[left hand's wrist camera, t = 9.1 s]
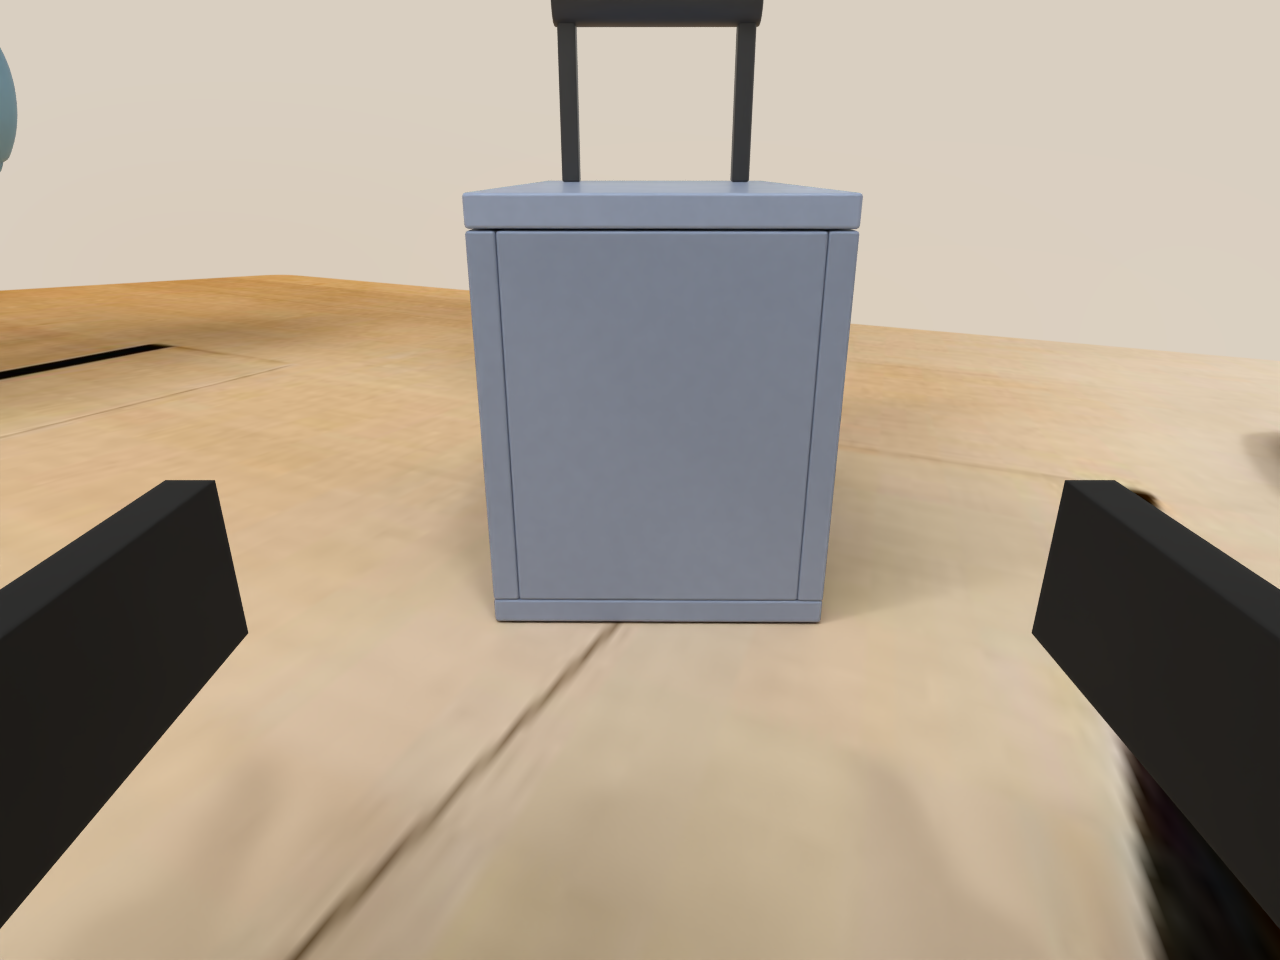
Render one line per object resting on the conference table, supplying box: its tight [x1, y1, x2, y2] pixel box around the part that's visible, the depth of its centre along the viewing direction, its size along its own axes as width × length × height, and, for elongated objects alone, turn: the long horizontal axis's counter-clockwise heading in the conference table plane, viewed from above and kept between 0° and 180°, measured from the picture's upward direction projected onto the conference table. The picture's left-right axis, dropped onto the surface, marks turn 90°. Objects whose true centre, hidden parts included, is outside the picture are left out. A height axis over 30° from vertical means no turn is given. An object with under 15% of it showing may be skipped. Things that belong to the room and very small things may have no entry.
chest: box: [465, 229, 859, 622], centre depth 29 cm, size 17×10×11 cm, turn 0°
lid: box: [462, 0, 863, 229], centre depth 26 cm, size 18×10×8 cm, turn 0°
